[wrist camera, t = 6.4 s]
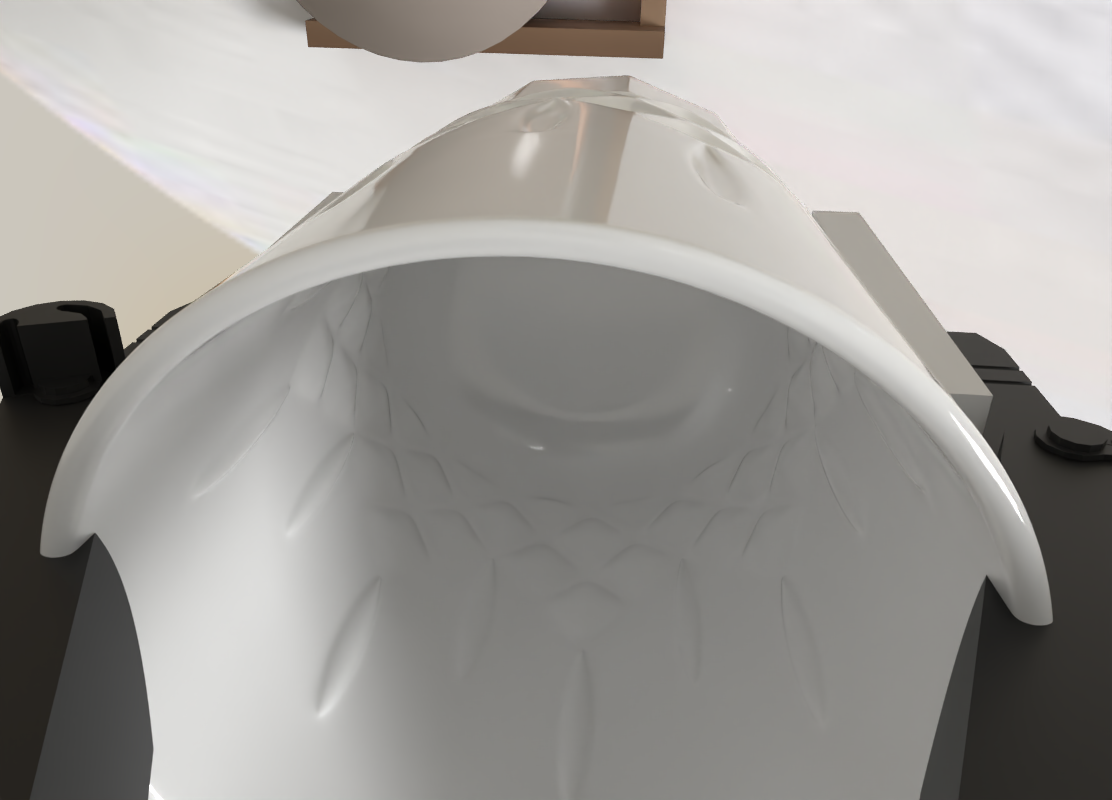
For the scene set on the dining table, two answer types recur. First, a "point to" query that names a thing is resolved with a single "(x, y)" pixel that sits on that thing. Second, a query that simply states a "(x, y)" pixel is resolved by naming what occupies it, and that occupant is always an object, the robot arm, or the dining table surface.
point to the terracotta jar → (423, 25)
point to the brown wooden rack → (559, 36)
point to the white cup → (545, 487)
